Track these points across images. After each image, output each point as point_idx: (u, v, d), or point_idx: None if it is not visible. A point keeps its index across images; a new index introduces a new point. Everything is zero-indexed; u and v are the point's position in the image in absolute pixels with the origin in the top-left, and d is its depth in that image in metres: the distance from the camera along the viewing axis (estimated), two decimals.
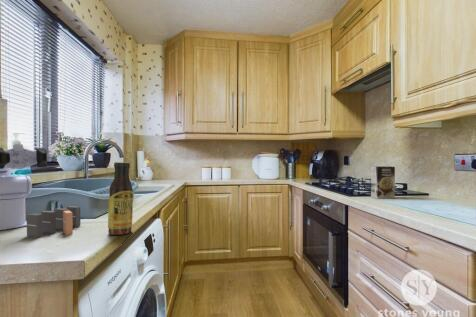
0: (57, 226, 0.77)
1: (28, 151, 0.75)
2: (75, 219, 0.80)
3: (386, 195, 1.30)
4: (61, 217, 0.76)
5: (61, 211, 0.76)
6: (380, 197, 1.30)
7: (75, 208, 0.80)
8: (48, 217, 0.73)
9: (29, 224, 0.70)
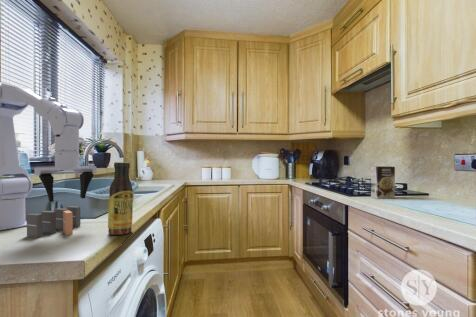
0: (57, 226, 0.77)
1: (78, 169, 0.74)
2: (75, 219, 0.80)
3: (386, 195, 1.30)
4: (61, 217, 0.76)
5: (61, 211, 0.76)
6: (380, 197, 1.30)
7: (75, 208, 0.80)
8: (48, 217, 0.73)
9: (29, 224, 0.70)
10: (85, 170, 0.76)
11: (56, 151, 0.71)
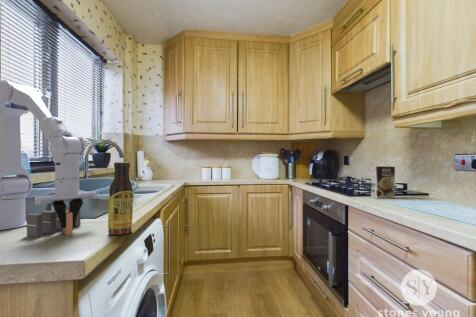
0: (57, 226, 0.77)
1: None
2: None
3: (386, 195, 1.30)
4: None
5: None
6: (380, 197, 1.30)
7: None
8: (48, 217, 0.73)
9: (29, 224, 0.70)
10: (85, 196, 0.76)
11: (56, 179, 0.71)
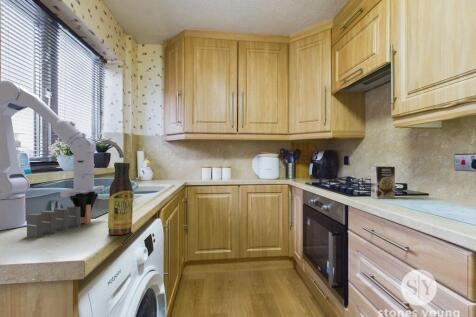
0: (57, 226, 0.77)
1: None
2: (75, 219, 0.80)
3: (386, 195, 1.30)
4: (61, 217, 0.76)
5: (61, 211, 0.76)
6: (380, 197, 1.30)
7: (75, 208, 0.80)
8: (48, 217, 0.73)
9: (29, 224, 0.70)
10: (96, 190, 0.89)
11: (78, 175, 0.82)
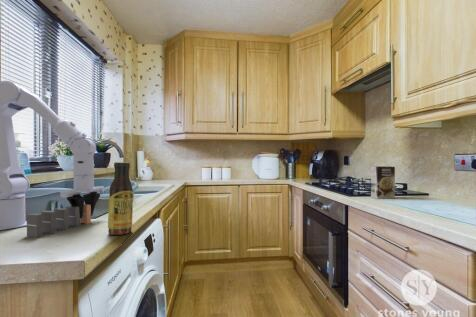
0: (57, 226, 0.77)
1: None
2: (75, 219, 0.80)
3: (386, 195, 1.30)
4: (61, 217, 0.76)
5: (61, 211, 0.76)
6: (380, 197, 1.30)
7: (74, 208, 0.79)
8: (48, 217, 0.73)
9: (29, 224, 0.70)
10: (96, 190, 0.89)
11: (78, 175, 0.82)
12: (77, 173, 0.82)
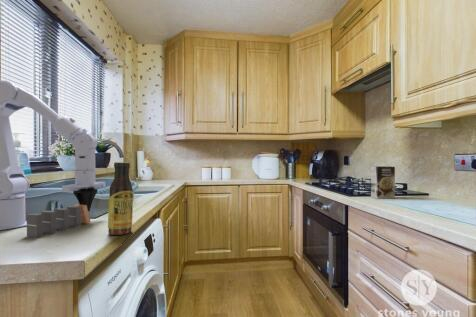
0: (57, 226, 0.77)
1: None
2: (75, 219, 0.80)
3: (386, 195, 1.30)
4: (61, 217, 0.76)
5: (61, 211, 0.76)
6: (380, 197, 1.30)
7: (75, 208, 0.80)
8: (48, 217, 0.73)
9: (29, 224, 0.70)
10: (97, 185, 0.89)
11: (80, 170, 0.82)
12: (79, 168, 0.82)
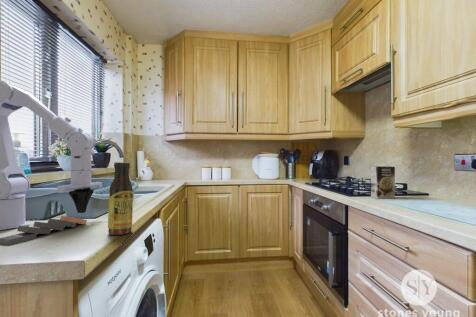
0: (53, 229, 0.76)
1: None
2: (67, 226, 0.77)
3: (386, 195, 1.30)
4: (48, 228, 0.73)
5: (42, 227, 0.71)
6: (380, 197, 1.30)
7: (57, 224, 0.74)
8: (29, 232, 0.68)
9: None
10: (94, 186, 0.88)
11: (75, 171, 0.81)
12: (74, 168, 0.81)
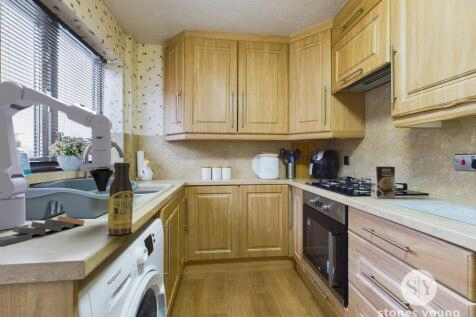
0: None
1: (111, 166, 0.89)
2: (64, 226, 0.77)
3: (386, 195, 1.30)
4: None
5: None
6: (380, 197, 1.30)
7: (53, 224, 0.74)
8: (22, 232, 0.68)
9: None
10: (112, 167, 0.91)
11: (96, 150, 0.84)
12: (96, 148, 0.84)
